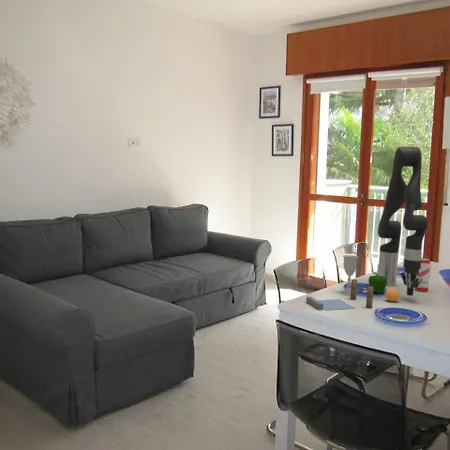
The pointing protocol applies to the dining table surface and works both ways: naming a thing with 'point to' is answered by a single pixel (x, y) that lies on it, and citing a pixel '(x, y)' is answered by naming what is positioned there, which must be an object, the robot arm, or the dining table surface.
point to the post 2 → (369, 297)
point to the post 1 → (353, 289)
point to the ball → (392, 294)
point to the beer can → (424, 275)
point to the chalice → (349, 269)
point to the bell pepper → (377, 283)
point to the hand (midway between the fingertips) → (409, 295)
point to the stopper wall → (314, 303)
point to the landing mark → (335, 304)
